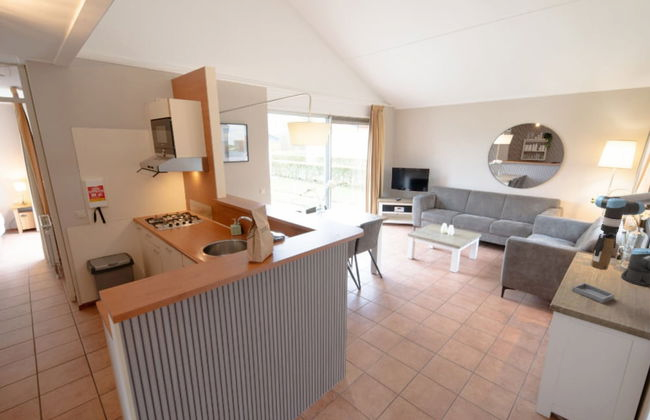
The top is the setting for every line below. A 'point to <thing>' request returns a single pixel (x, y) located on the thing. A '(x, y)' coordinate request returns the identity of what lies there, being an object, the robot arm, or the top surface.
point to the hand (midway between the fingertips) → (601, 259)
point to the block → (604, 254)
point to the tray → (593, 293)
